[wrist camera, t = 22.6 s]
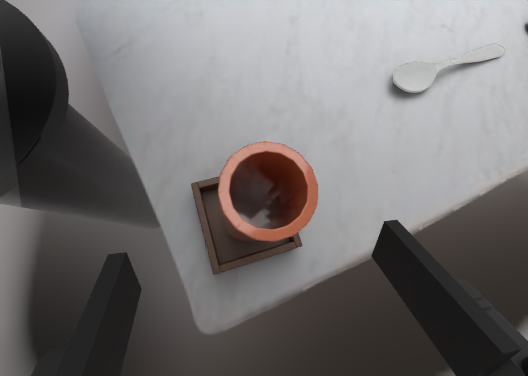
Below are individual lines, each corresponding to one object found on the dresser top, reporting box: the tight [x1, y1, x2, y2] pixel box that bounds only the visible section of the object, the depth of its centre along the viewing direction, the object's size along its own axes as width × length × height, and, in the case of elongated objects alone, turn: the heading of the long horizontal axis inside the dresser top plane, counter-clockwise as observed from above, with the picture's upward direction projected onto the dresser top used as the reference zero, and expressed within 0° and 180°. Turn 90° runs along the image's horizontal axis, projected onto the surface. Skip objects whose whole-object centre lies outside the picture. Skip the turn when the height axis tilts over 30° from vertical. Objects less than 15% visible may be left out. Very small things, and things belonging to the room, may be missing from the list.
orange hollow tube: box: [218, 142, 318, 242], centre depth 18 cm, size 4×4×14 cm
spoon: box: [393, 43, 505, 93], centre depth 32 cm, size 4×21×2 cm, turn 114°
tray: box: [191, 177, 302, 274], centre depth 24 cm, size 8×8×3 cm
